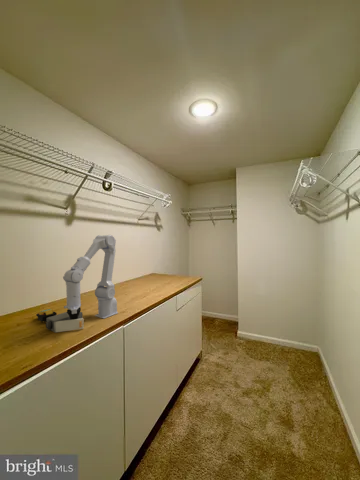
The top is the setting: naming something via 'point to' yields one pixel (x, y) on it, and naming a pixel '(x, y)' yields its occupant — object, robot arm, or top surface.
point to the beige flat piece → (68, 325)
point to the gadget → (45, 314)
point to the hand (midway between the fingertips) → (74, 324)
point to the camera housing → (58, 319)
